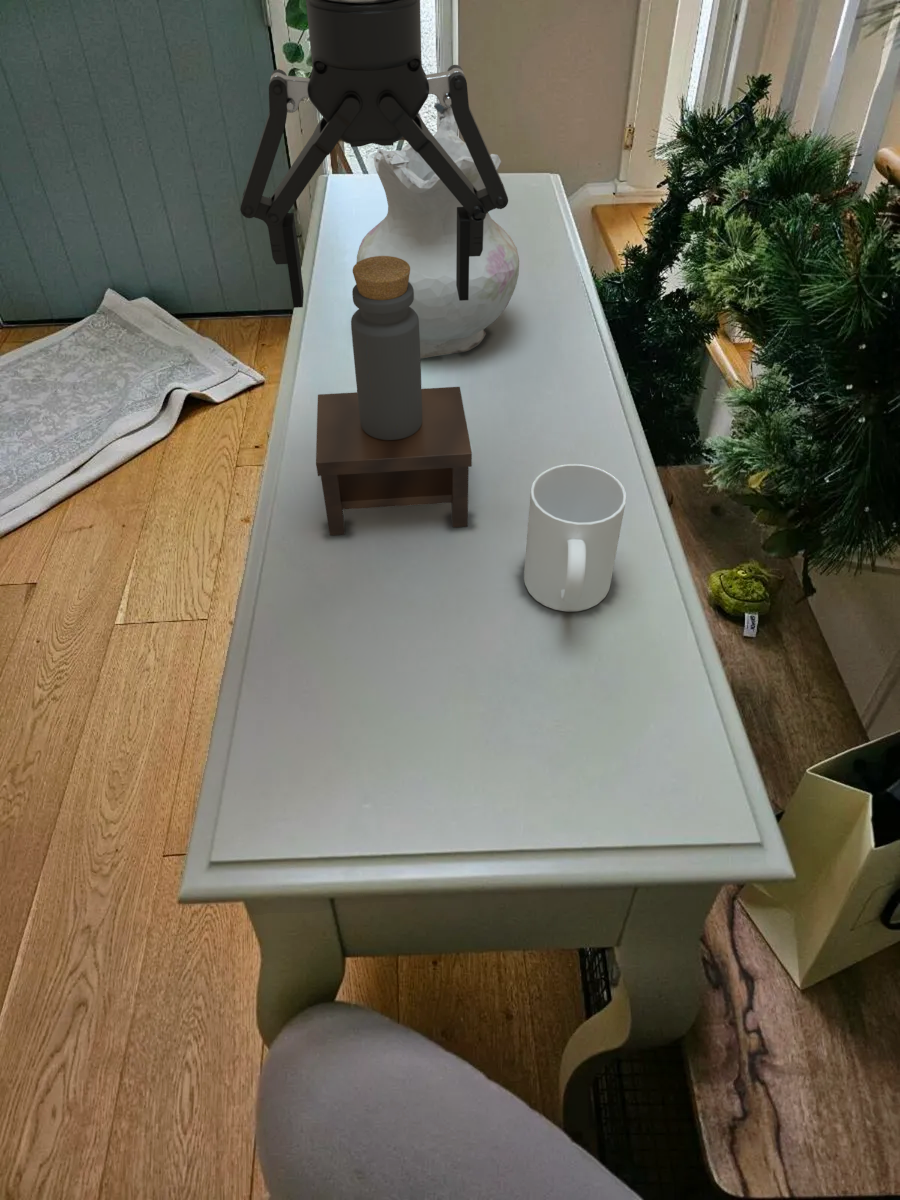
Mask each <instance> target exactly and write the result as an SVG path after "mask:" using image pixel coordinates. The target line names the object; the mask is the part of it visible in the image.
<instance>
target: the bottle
mask: <svg viewBox="0 0 900 1200" xmlns="http://www.w3.org/2000/svg"><path fill="white" fill-rule="evenodd" d="M352 275H353V278H354V282H355V285H354V286H353V288H352V292H351V293H352V294H351V296H352V303H353V304H354V306H355V307H356V308H357V310H356V311H355V312H354V313H353V315H352V317H351V318H350V330H351V340H352V352H353V362H354V373H355V383H356V392H357V395H358V405H359V414H360V422H361V427H362V429H363V430H364V431H365V433H367V434H368V435H370V436H372V437H374V438H378V439H382V440H399V439H403V438H406V437H409V436H411V435H413V434H414V433H416V432H417V431H418V430H419V428H420V427H421V424H422V390H421V389H422V364H421V361H422V360H421V359H422V358H421V359H420V333H419V318H418V315H417V313H416V312H415V311H414V310H413V309H412V308H411V307H409V306H410V305H411V304H412V302H413V300H414V289H413V286H412V285H411V284H410V283H409V282H408V281H409V275H410V266H409V264H408V263H407V262H406V261H404V260H402V259H400V258H397V257H391V256H375V257H369V258H366V259H363V260H361V261H359V262H358V263H357V262H356V263H355V264H354V265H353V267H352Z"/></svg>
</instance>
